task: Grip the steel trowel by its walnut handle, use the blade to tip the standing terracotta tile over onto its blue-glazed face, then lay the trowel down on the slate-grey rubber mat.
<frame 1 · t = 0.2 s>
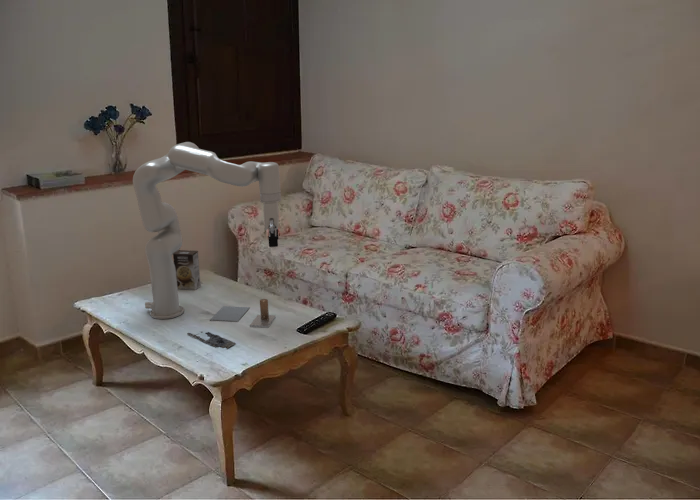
hand: (273, 243, 237), 30 cm above the table, tool pointing down, fingers open, 9 cm apart
driftwood: (212, 341, 228), on the table
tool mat: (230, 314, 250), on the table
trowel: (263, 322, 242), on the table
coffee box: (188, 287, 282), on the table
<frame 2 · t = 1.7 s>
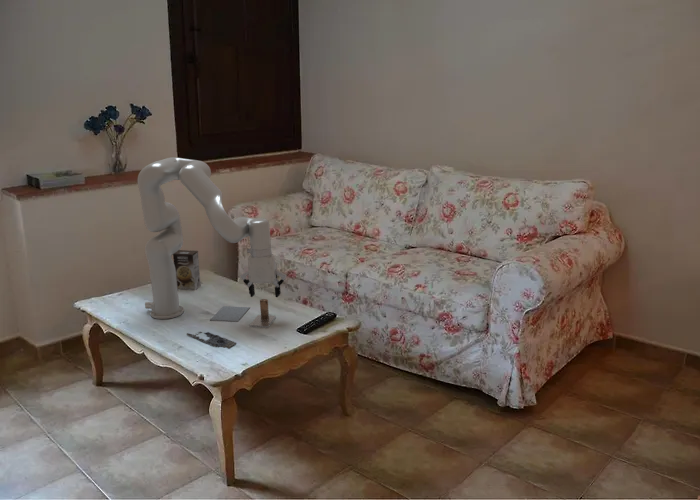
hand: (265, 295, 242), 9 cm above the table, tool pointing down, fingers open, 9 cm apart
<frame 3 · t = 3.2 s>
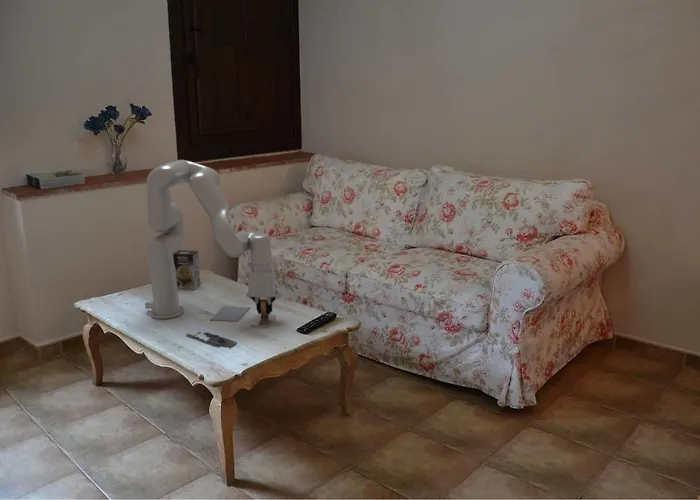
hand: (264, 312, 244), 3 cm above the table, tool pointing down, fingers closed on trowel, 3 cm apart
trowel: (262, 322, 242), on the table, touching gripper
everything else where it was.
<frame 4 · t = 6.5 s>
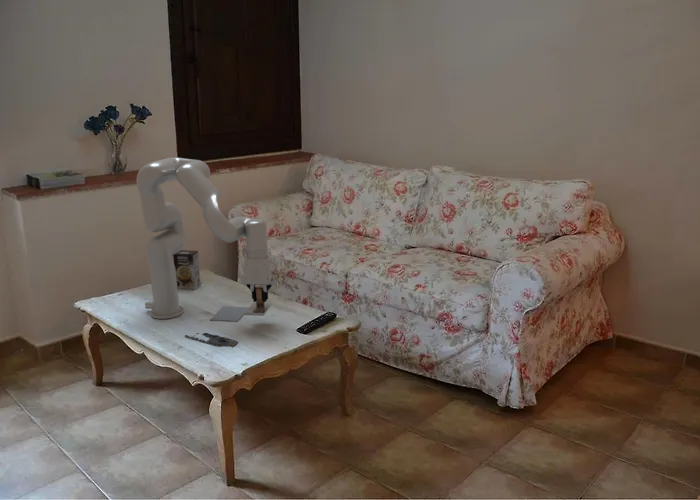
hand: (260, 300, 238), 9 cm above the table, tool pointing down, fingers closed on trowel, 3 cm apart
trowel: (258, 310, 237), point 6 cm above the table, touching gripper
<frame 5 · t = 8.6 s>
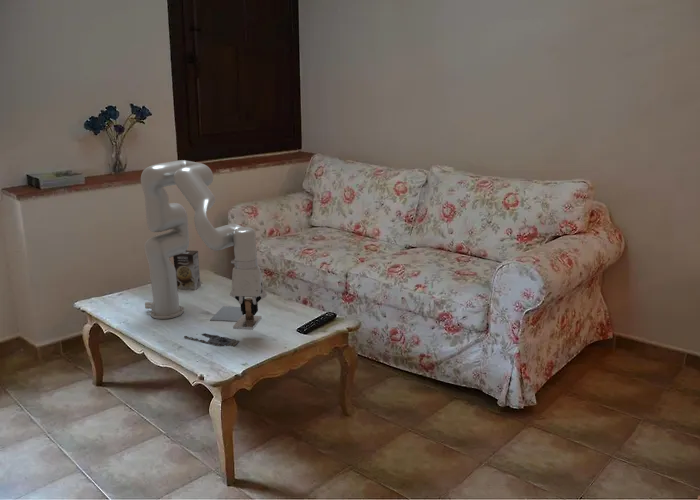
hand: (249, 313, 226), 9 cm above the table, tool pointing down, fingers closed on trowel, 3 cm apart
trowel: (247, 323, 225), point 6 cm above the table, touching gripper
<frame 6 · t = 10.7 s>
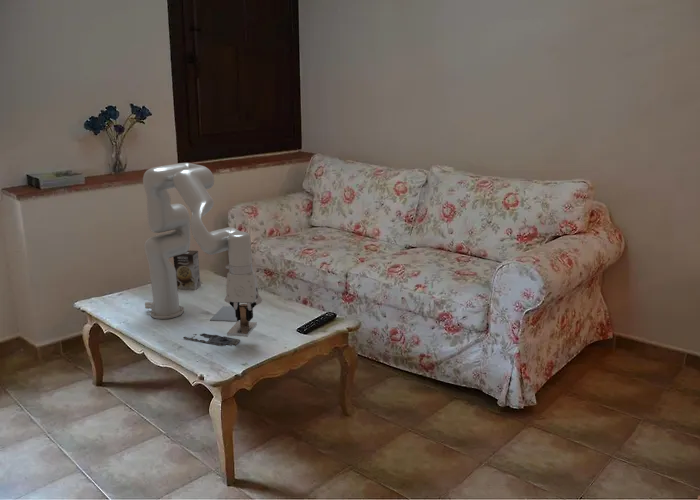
hand: (244, 319, 221), 9 cm above the table, tool pointing down, fingers closed on trowel, 3 cm apart
trowel: (242, 330, 220), point 6 cm above the table, touching gripper
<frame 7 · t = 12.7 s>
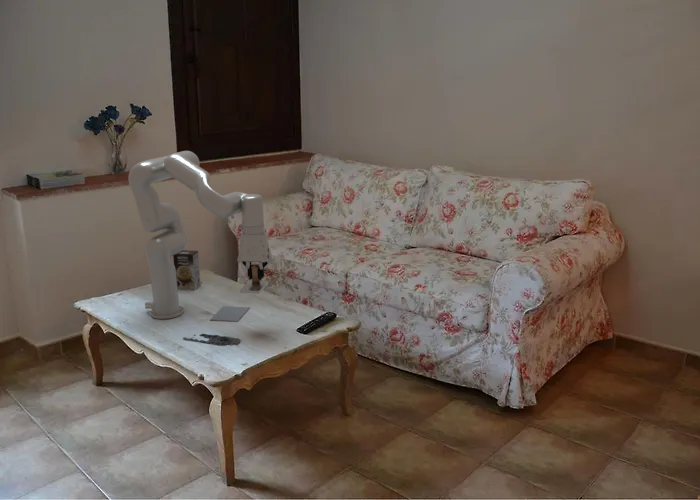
hand: (256, 278, 233), 19 cm above the table, tool pointing down, fingers closed on trowel, 3 cm apart
trowel: (254, 288, 232), point 16 cm above the table, touching gripper
when the fingers open (4 cm above the table, at t = 17.1 s): trowel drops 1 cm, resting on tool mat.
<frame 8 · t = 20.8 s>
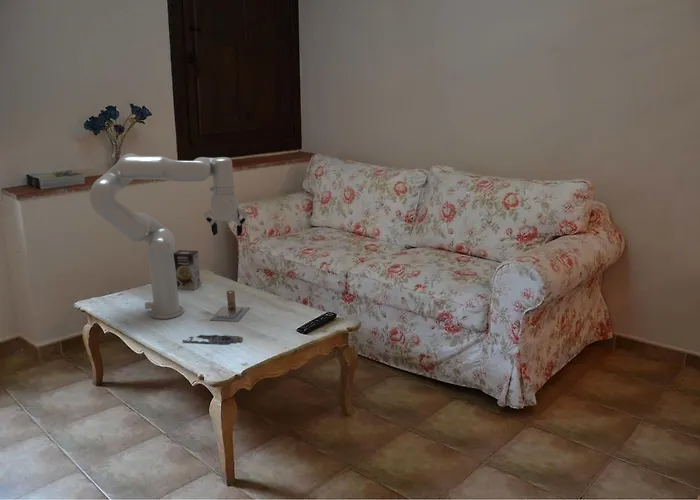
hand: (227, 234, 248), 30 cm above the table, tool pointing down, fingers open, 9 cm apart
trowel: (229, 313, 250), resting on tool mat
at the end: tile tilted 90°; trowel inside the target area (0.1 cm from its centre), resting on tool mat; the gripper is holding nothing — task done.
